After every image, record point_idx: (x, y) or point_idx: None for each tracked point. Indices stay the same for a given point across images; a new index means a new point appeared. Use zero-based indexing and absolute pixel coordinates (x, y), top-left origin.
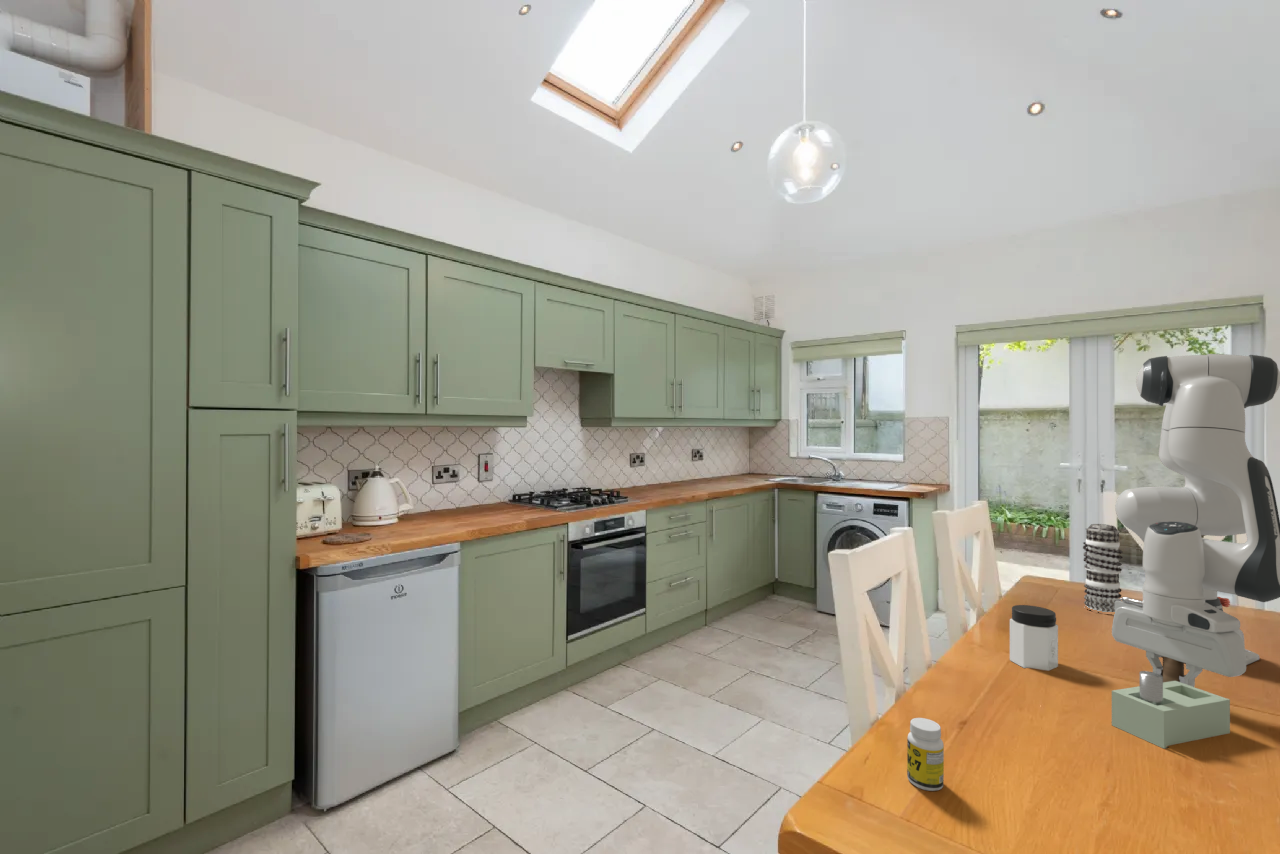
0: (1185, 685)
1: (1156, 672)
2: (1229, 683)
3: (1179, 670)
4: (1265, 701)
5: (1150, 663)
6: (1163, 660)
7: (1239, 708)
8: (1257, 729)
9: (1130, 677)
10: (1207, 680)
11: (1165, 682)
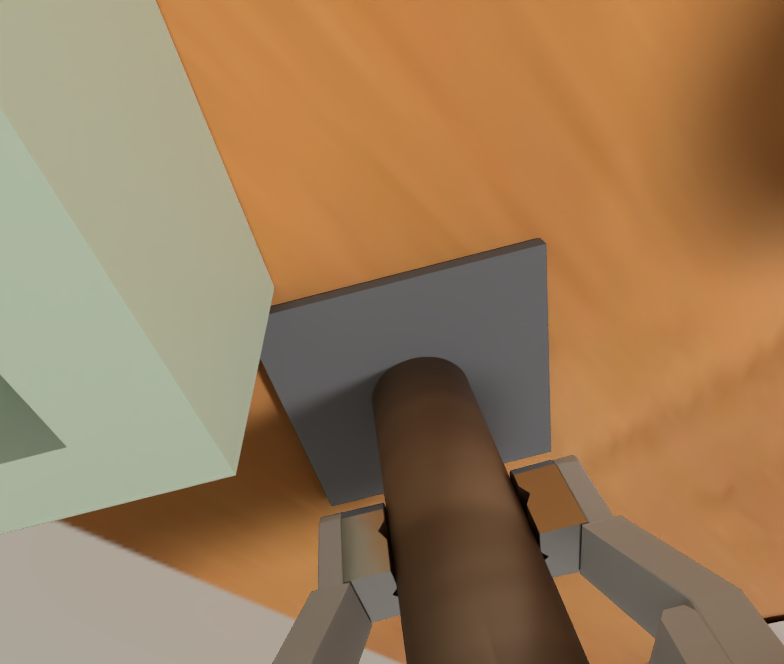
0: (75, 479)
1: (561, 486)
2: None
3: (405, 627)
4: (405, 658)
5: (650, 534)
6: (555, 653)
7: None
8: (129, 522)
9: (728, 421)
10: (580, 623)
11: (124, 323)
